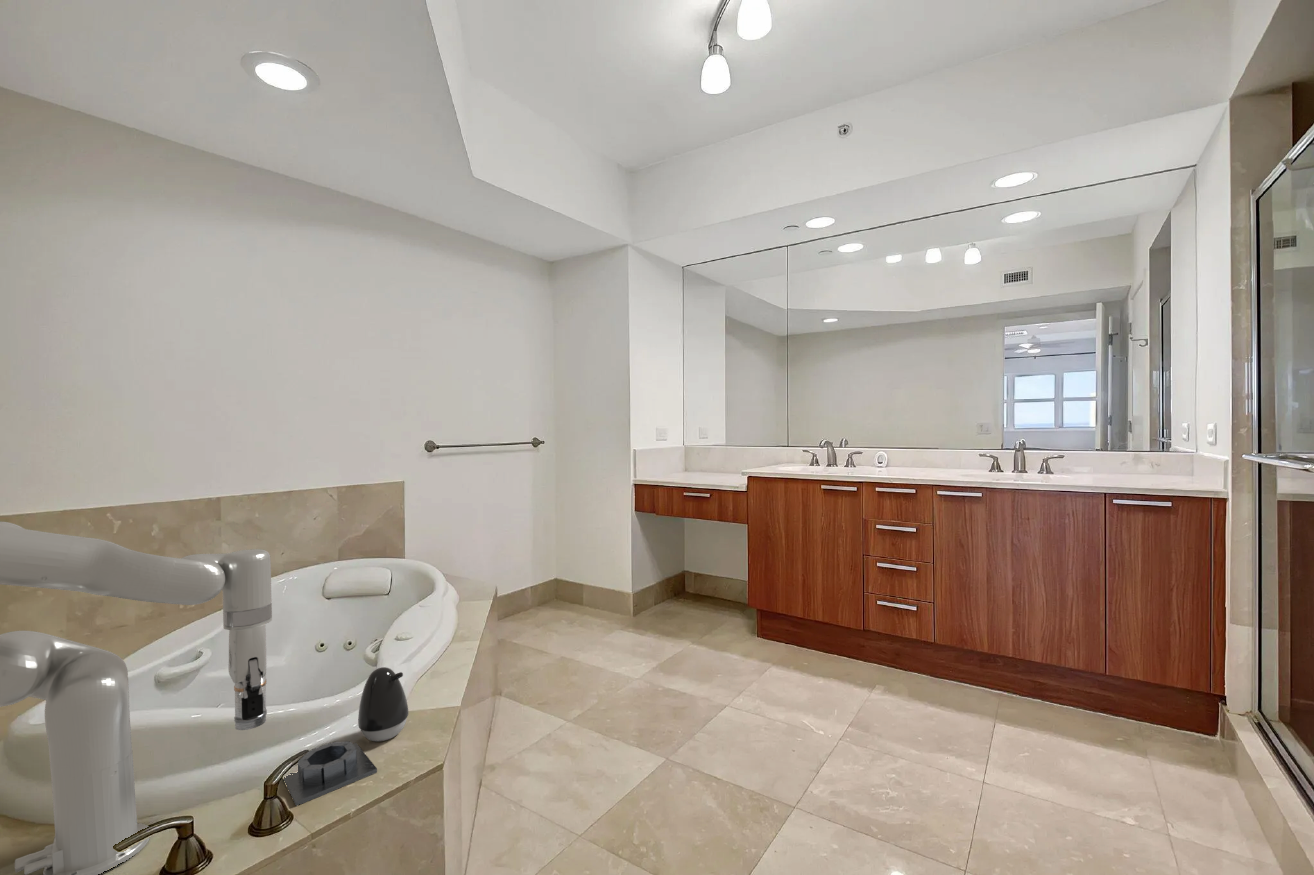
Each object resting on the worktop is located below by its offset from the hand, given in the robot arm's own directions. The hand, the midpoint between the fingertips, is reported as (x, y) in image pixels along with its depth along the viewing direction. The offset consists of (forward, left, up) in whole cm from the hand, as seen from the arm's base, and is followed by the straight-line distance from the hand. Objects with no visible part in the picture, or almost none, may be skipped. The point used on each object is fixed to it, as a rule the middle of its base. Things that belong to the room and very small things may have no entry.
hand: (250, 710), depth 109 cm
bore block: (+12, -3, -16) cm, 20 cm away
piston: (0, 0, -2) cm, 2 cm away
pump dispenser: (+25, +4, -16) cm, 30 cm away
